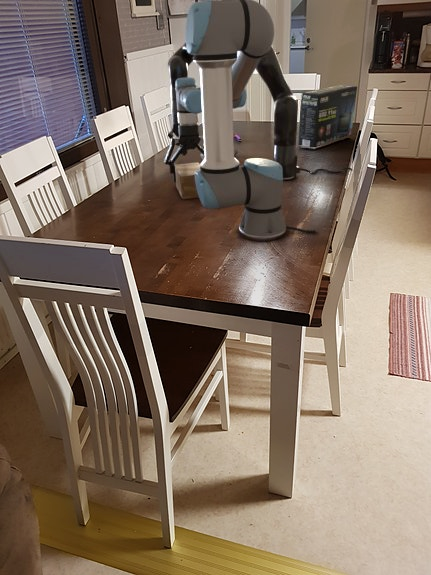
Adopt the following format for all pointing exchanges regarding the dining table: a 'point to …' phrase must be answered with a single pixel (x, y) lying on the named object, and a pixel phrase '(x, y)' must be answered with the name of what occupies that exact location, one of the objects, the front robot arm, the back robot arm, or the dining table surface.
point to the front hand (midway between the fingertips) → (191, 179)
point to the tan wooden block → (187, 179)
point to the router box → (326, 115)
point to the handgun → (238, 138)
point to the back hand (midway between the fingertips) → (183, 155)
